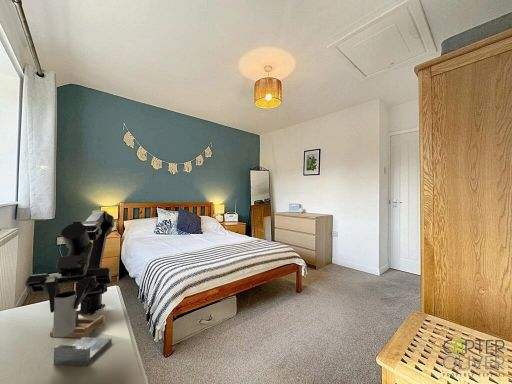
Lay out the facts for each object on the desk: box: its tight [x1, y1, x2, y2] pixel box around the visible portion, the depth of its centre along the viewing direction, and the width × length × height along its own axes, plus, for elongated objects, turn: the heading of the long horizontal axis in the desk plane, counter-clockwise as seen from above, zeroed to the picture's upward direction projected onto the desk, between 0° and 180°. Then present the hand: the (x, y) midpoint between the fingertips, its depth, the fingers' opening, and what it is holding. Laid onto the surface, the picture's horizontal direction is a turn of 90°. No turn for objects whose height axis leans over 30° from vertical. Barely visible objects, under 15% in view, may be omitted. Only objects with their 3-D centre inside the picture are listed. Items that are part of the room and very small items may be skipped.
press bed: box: [53, 336, 113, 367], centre depth 61 cm, size 9×9×4 cm
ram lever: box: [75, 306, 80, 325], centre depth 71 cm, size 5×3×5 cm, turn 177°
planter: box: [52, 290, 77, 338], centre depth 59 cm, size 4×4×10 cm
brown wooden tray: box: [49, 314, 105, 339], centre depth 71 cm, size 7×12×3 cm, turn 87°
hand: (63, 310), depth 58 cm, fingers closed on planter, 4 cm apart
